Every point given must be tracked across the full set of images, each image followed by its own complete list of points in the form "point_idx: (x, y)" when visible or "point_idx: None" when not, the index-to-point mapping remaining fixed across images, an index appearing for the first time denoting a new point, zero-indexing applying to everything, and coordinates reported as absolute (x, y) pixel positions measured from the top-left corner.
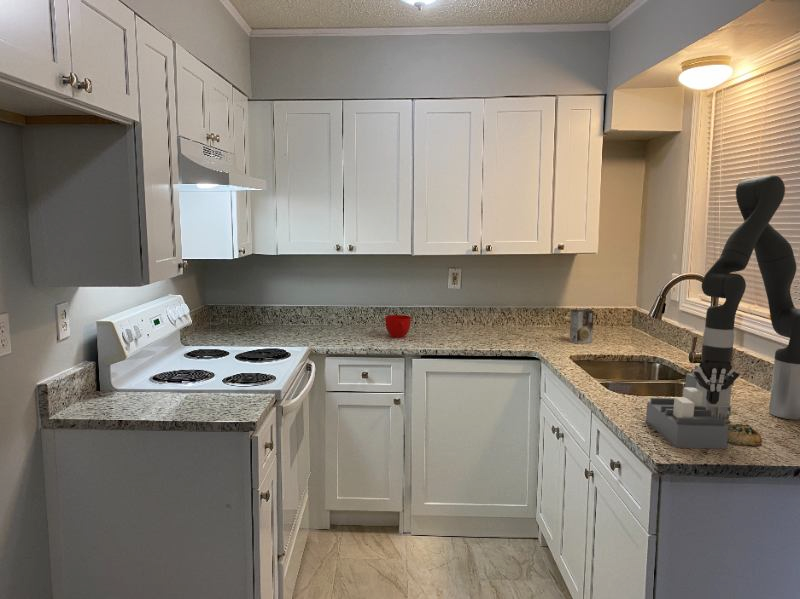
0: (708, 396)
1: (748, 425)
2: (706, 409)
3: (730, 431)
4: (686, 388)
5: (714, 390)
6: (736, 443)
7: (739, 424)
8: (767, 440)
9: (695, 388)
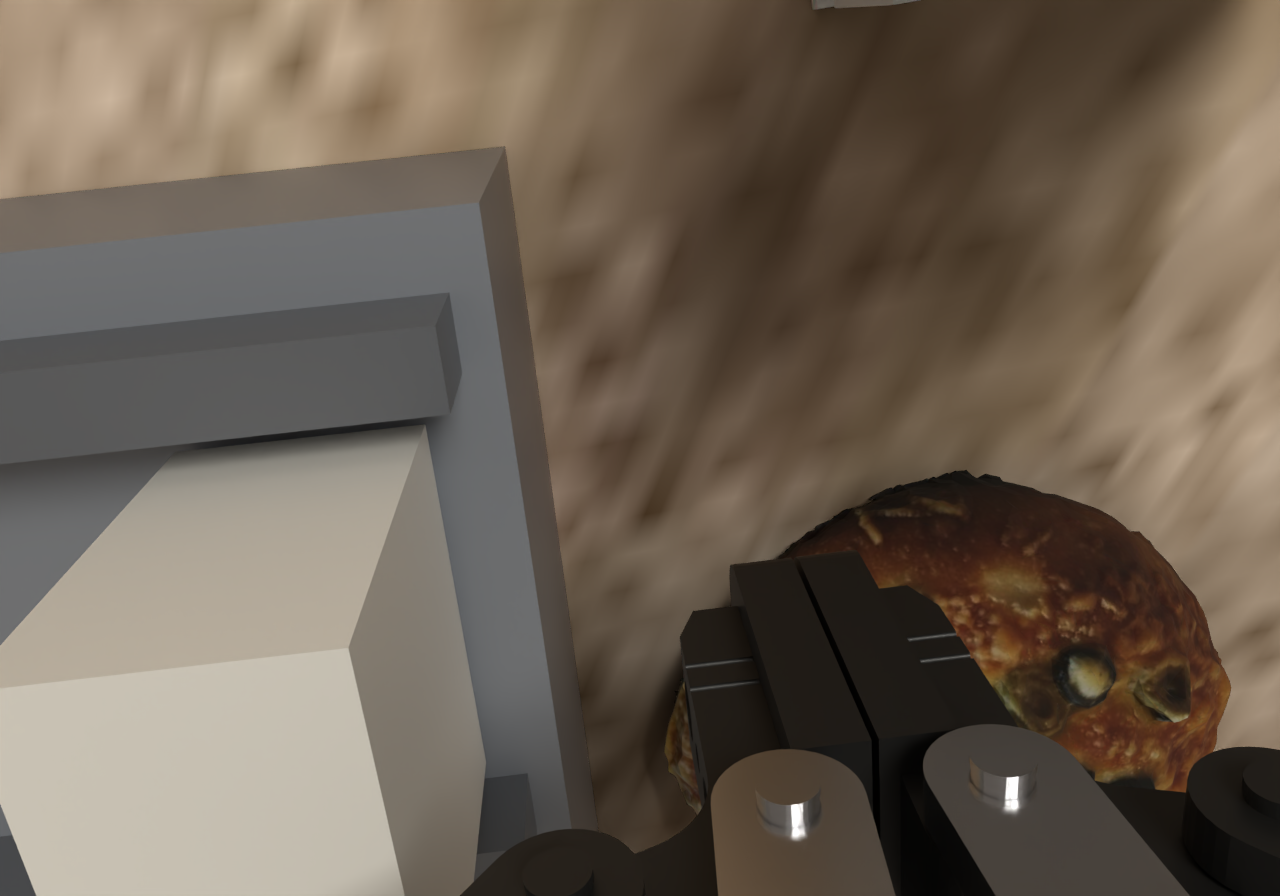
0: (698, 780)
1: (1173, 718)
2: (868, 5)
3: None
4: (37, 806)
5: (904, 871)
6: None
7: None
8: (1271, 692)
9: (359, 749)
